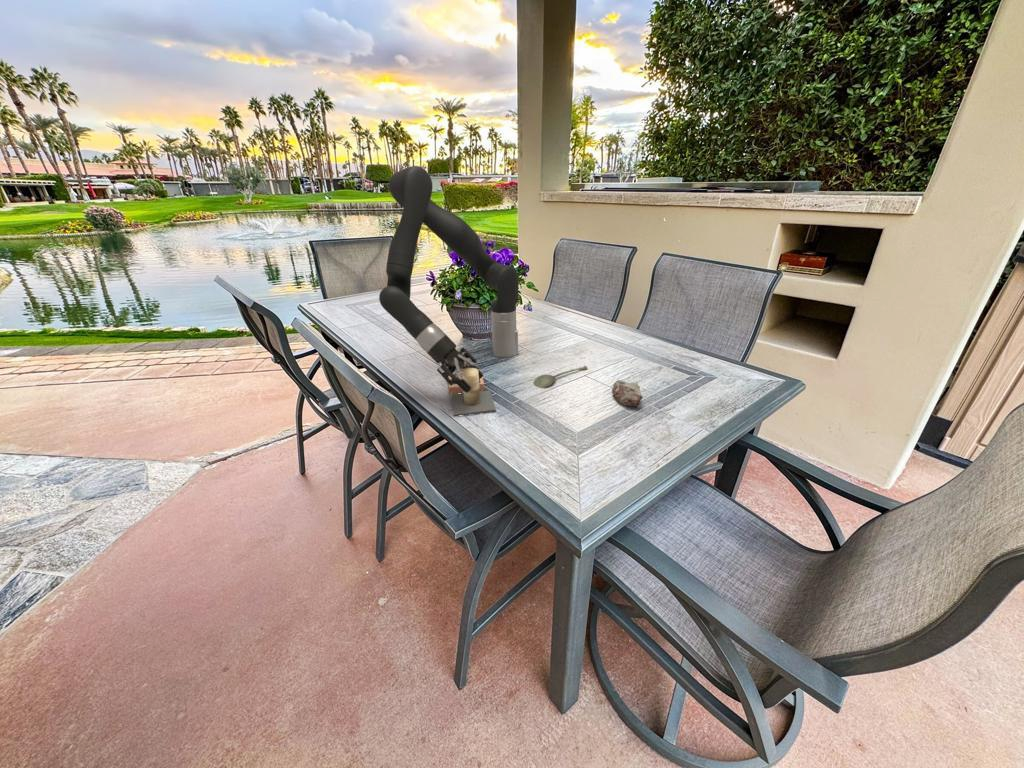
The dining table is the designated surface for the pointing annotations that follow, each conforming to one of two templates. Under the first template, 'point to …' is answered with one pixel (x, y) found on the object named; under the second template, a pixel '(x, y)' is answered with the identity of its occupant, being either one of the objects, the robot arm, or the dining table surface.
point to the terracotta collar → (457, 389)
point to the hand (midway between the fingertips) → (475, 383)
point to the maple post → (473, 380)
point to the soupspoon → (551, 378)
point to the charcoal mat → (483, 407)
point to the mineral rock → (627, 393)
